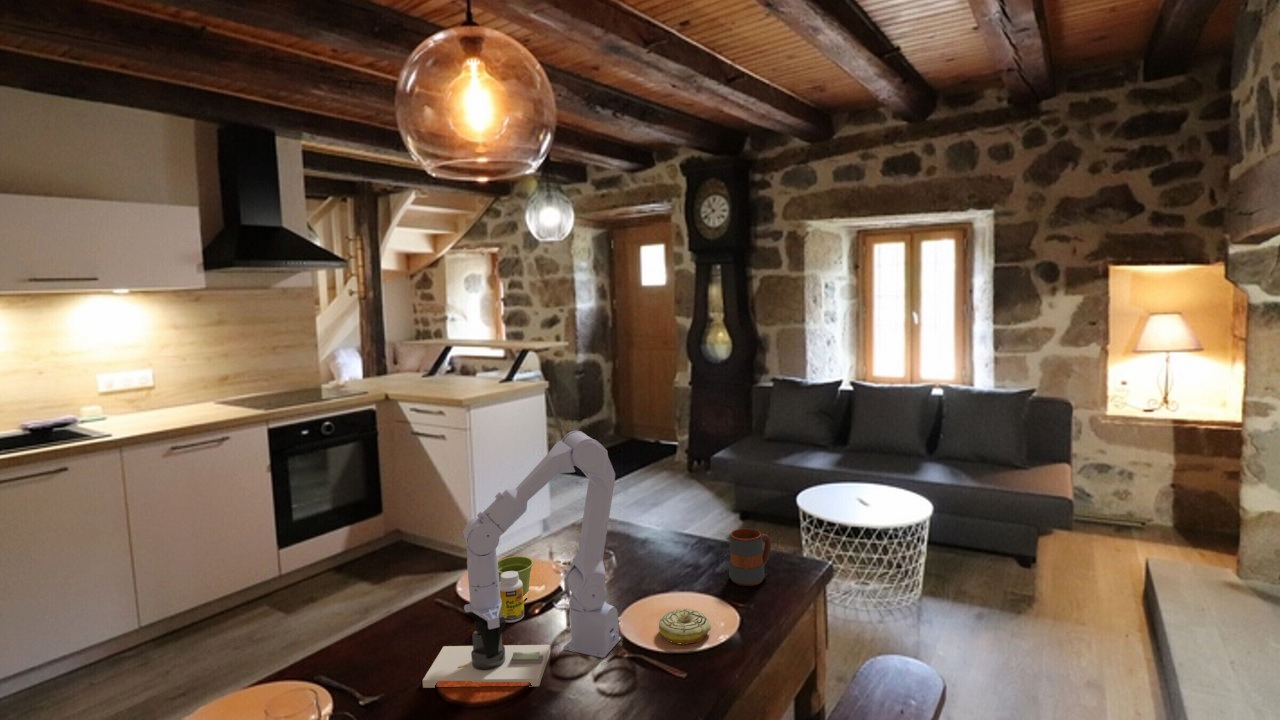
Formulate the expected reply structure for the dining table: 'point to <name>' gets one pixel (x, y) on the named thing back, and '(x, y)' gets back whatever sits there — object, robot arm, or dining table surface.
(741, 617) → the dining table surface
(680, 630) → the decorated donut
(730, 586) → the dining table surface
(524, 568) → the plant pot
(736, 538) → the mug
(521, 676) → the base plate
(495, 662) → the knob
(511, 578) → the supplement bottle
